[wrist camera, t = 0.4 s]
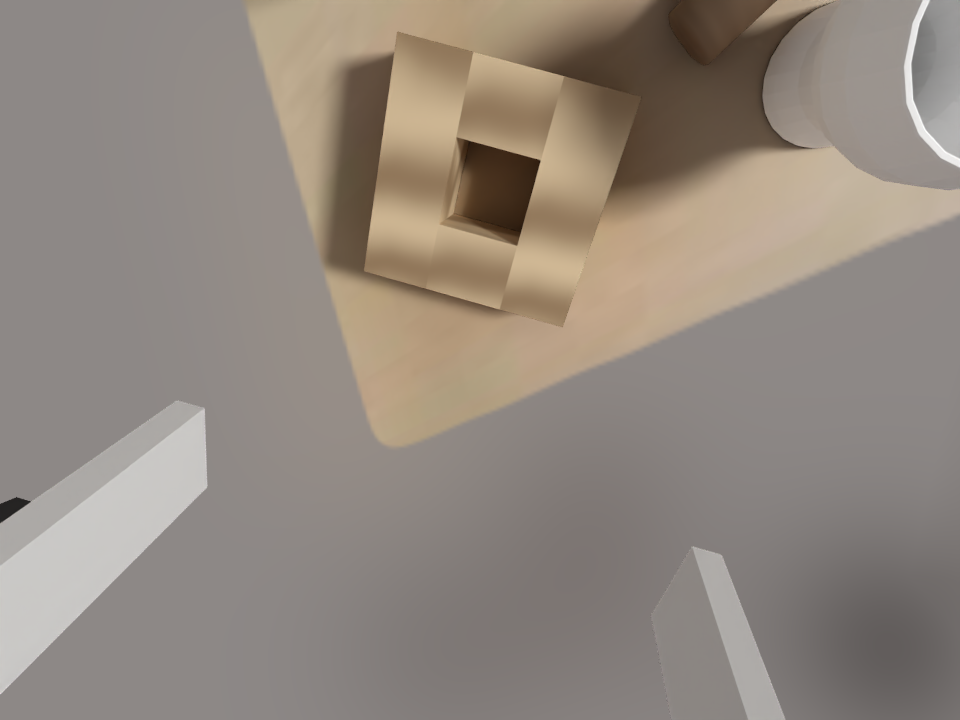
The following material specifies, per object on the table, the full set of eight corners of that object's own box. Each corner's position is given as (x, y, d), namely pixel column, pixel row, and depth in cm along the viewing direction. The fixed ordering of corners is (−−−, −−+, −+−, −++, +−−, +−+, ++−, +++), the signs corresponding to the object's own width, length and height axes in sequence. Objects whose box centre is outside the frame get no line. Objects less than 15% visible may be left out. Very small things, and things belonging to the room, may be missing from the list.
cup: (719, 170, 32) (840, 192, 18) (760, -31, 27) (960, -199, 14) (896, 174, 30) (1169, 201, 17) (969, -36, 26) (1417, -229, 13)
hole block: (420, 47, 31) (397, 31, 27) (629, 103, 31) (641, 96, 26) (387, 255, 37) (363, 271, 33) (561, 304, 37) (562, 327, 32)
